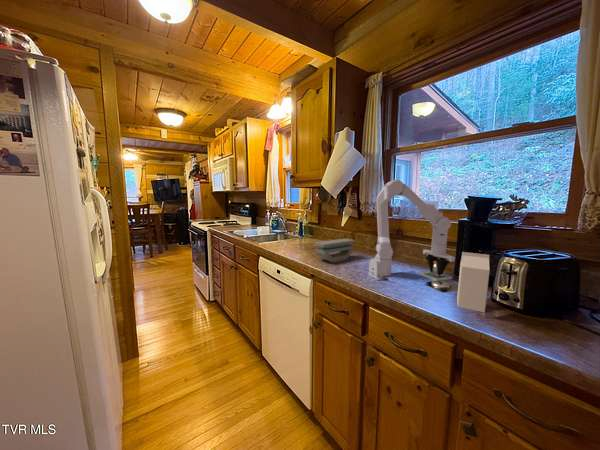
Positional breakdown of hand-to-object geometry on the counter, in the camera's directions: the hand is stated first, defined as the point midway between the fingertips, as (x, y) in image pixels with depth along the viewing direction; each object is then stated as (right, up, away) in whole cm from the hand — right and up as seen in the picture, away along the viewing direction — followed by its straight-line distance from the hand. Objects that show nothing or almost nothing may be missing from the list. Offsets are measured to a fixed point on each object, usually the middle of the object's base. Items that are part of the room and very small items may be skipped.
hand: (436, 273), depth 106 cm
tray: (0, -3, 0) cm, 3 cm away
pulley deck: (-3, -5, -11) cm, 12 cm away
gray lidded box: (-40, +1, +33) cm, 52 cm away
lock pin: (0, -2, 0) cm, 2 cm away
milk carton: (-4, -7, -27) cm, 28 cm away
